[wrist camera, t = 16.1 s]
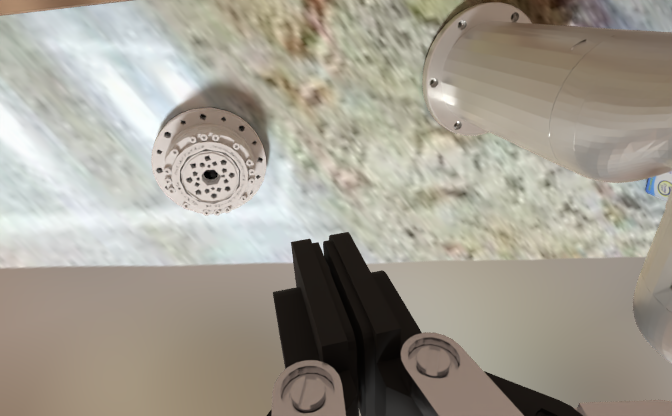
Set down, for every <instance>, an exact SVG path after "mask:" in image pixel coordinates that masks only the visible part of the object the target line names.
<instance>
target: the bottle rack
mask: <svg viewBox="0 0 672 416" xmlns="http://www.w3.org/2000/svg"><path fill="white" fill-rule="evenodd" d="M123 1H132V0H0V16H2V15H11V14H19V13H28V12H37V11H45V10H54V9H63V8H71V7H80V6H89V5H97V4H106V3H114V2H123Z"/></svg>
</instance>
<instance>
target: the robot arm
mask: <svg viewBox="0 0 672 416" xmlns="http://www.w3.org/2000/svg"><path fill="white" fill-rule="evenodd" d="M458 23H459V26H458ZM431 80H432V82H431V83H430V81H431ZM422 87H423V94H424V99H425V102H426V105H427V108H428V110H429V112H430V113H431V115H432V117H433V118H434V119H435V120H436V121H437V122H438V123H439V124H440V125H441V126H443V127H444V128H446V129H447V130H449V131H451V132H453V133H456V134H460V135H464V136H476V135H481V134H485V133H488V132H490V133H492V134H494V135H497V136H499V137H501V138H503V139H505V140H507V141H509V142H511V143H513V144H515V145H518V146H520V147H522V148H524V149H526V150H528V151H530V152H532V153H534V154H536V155H539V156H541V157H543V158H545V159H547V160H549V161H551V162H553V163H556V164H558V165H560V166H562V167H564V168H566V169H569V170H571V171H573V172H575V173H577V174H579V175H582V176H584V177H587V178H589V179H593V180H597V181H601V182H610V183H624V182H632V181H638V180H643V179H647V178H651V177H655V176H658V175H661V174H665V173H668V172H671V171H672V32H656V31H640V30H622V29H607V28H592V27H578V26H563V25H548V24H533V23H532V22H531V20H530V19H529V17H528V16H527V15H526V14H525V13H523V12H522V11H521V10H520V9H518V8H516V7H514V6H513V5H510V4H505V3H501V2H488V3H481V4H477V5H474V6H472V7H469V8H467V9H465V10H463V11H462V12H460V13H459V14H457V15H456V16H454V17H453V18H452V19H451V20H450V21H449V22H448V23H447V24H446V25H445V26H444V27H443V29H442V30H441V31H440V32H439V34H438V35H437V37H436V38H435V40H434V42H433V44H432V45H431V47H430V50H429V52H428V55H427V58H426V61H425V65H424V70H423V82H422ZM454 124H455V125H454ZM291 246H292V254H293V263H294V271H295V279H296V286H297V288H292V289H287V290H282V291H276V292H273V296H274V303H275V309H276V315H277V322H278V327H279V334H280V340H281V345H282V351H283V358H284V364H285V370H284V371H283V372H282V373H281V374H280V375H279V377H278V378H277V380H276V382H275V384H274V388H273V396H272V410H271V411H270V412H269V413H268V415H267V416H359V410H360V413H361V416H672V401H663V400H649V401H619V402H590V403H579V405H578V407H577V408H573V407H571V406H570V405H568V404H566V403H563V402H562V401H560V400H557V399H554V398H552V397H549V396H547V395H544V394H541V393H539V392H536V391H534V390H531V389H528V388H526V387H523V386H521V385H518V384H515V383H513V382H510V381H507V380H505V379H503V378H500V377H497V376H495V375H492V374H490V373H487V372H485V371H483V370H482V369H481V368H480V367H479V366H478V365H477V364H476V362H475V361H474V360H473V359H472V358H471V357H470V356H469V355H468V354H467V353H466V352H465V351H464V349H463V348H462V347H461V346H460V345H459V344H457V343H456V342H455V341H454V340H453V339H451V338H449V337H446V336H444V335H441V334H437V333H421V331H420V329H419V327H418V326H417V324H416V322H415V321H414V319H413V318H412V316H411V314H410V312H409V311H408V309H407V308H406V306H405V304H404V302H403V301H402V299H401V297H400V296H399V294H398V292H397V291H396V289H395V287H394V286H393V284H392V282H391V281H390V279H389V277H388V276H387V274H386V273H385V272H384V271H377V272H372V273H371V272H370V270H369V269H368V267H367V265H366V263H365V261H364V259H363V258H362V256H361V254H360V252H359V250H358V248H357V246H356V245H355V243H354V241H353V239H352V237H351V235H350V234H349V232H346V233H340V234H334V235H330V236H329V241H324V242H323V248H324V255H323V253H322V250H321V248H320V245H319V243H312V242H311V239H306V240H300V241H295V242H291ZM633 313H634V318H635V322H636V324H637V327H638V328H639V330H640V332H641V334H642V336H643V337H644V338H645V340H646V341H647V342H648V343H649V344H650V345H651V346H652V348H653V349H655V351H656V352H657V353H658V354H660V355H661V356H662V357H663V358H664V359H666V360H667V361H668V362H670V363H671V364H672V188H671V191H670V194H669V197H668V200H667V203H666V209H665V212H664V214H663V217H662V219H661V222H660V224H659V227H658V229H657V232H656V234H655V237H654V239H653V242H652V244H651V247H650V249H649V252H648V254H647V257H646V260H645V262H644V265H643V268H642V271H641V273H640V276H639V279H638V282H637V285H636V288H635V292H634V297H633Z"/></svg>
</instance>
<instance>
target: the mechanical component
mask: <svg viewBox="0 0 672 416" xmlns="http://www.w3.org/2000/svg"><path fill="white" fill-rule="evenodd" d="M201 114H204V115H206V117H201ZM223 117H225V119H223ZM184 121H185V122H184ZM241 125H242V126H244V127H243V128H242V129H241V128H240V127H239V126H241ZM166 132H169V133H171V134H170V135H169V134H166ZM254 140H255V141H254ZM253 141H254V142H253ZM259 157H260V158H261V159H259ZM151 163H152V169H153V174H154V176H155V179H156V181H157V183H158V185H159V186H160V188H161V189H162V190H163V192H164V193H165V194H166V196H168V197H169V198H170V199H171V200H173V201H174V202H175V203H176V204H178V205H180V206H182V207H183V208H184V209H188V210H191V211H194V212H197V213H203V214H204V215H205V216H207V215H209V214H214V215H219V214H221V213H229V212H230V211H231V210H233V209H236V208H238V207H240V206H242V205H243V204H245V203H246V202H248V201H249V200H251V199H252V197H253V196H254V195H255V194H256V193H257V191H258V190H259V188H260V186H261V184H262V182H263V180H264V176H265V171H266V156H265V152H264V148H263V144H262V143H261V141H260V139H259V137H258V135H257V133H256V132H255V131H254V129H253V128H252V127H251V126H250V125H249V124H248V123H247V122H246V121H244V120H243V119H242V118H241V117H239V116H237V115H235V114H233V113H231V112H229V111H225V110H220V109H216V108H212V107H208V108H199V109H191V110H188V111H185V112H183V113H180V114H179V115H177V116H176V117H174V118H173V119H171V120H170V121H168V123H167V124H166V125H165V127H164V128H163V129H162V130H161V132H160V133H159V134H158V136H157V138H156V140H155V143H154V146H153V150H152V159H151ZM159 168H162V169H159ZM213 169H214V170H215V171H210V170H213ZM205 171H207V172H208V173H209V174H210V176H212V180H209V179H207V178H206V177H205V176H204V172H205ZM216 172H217V173H218V176H217V178H216V177H215V176H216Z"/></svg>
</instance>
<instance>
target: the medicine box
mask: <svg viewBox="0 0 672 416" xmlns="http://www.w3.org/2000/svg"><path fill="white" fill-rule="evenodd" d="M671 188H672V171H671V172H668V173H665V174H661V175H658V176H655V177H651V178H648V182H647V186H646V192H647V193H649V194H651V195H653V196H656V197H658V198H660V199H662V200H665V201H667V200H668V197H669V194H670V191H671Z"/></svg>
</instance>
